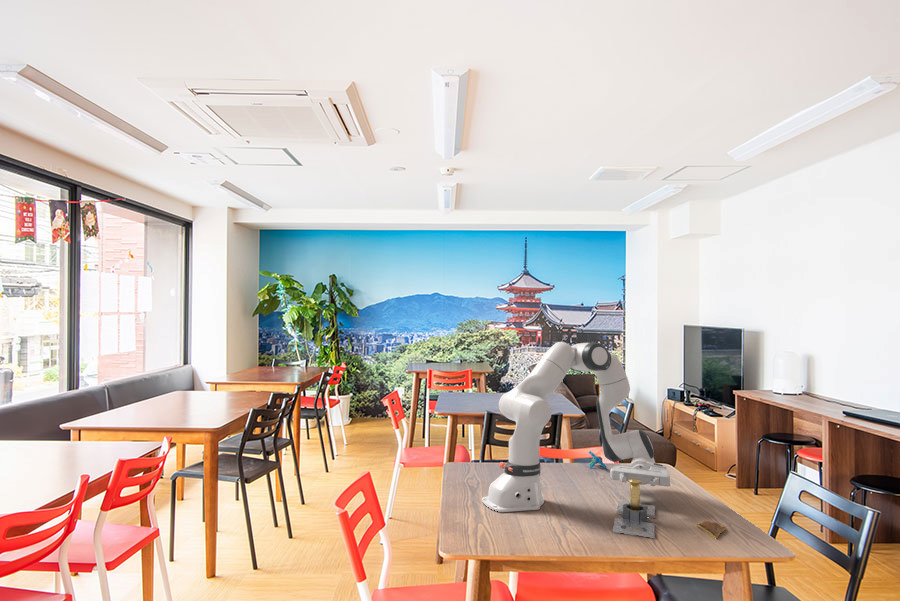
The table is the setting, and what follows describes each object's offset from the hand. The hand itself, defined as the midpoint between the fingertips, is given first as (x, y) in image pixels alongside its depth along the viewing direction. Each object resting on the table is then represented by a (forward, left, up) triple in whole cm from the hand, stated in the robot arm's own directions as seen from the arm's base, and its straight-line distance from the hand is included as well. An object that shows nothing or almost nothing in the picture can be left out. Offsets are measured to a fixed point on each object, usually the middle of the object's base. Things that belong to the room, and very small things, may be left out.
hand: (638, 481), depth 175 cm
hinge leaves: (-7, -6, -10) cm, 14 cm away
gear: (+22, +49, -10) cm, 54 cm away
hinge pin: (-7, -6, -10) cm, 14 cm away
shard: (+10, -23, -11) cm, 27 cm away
